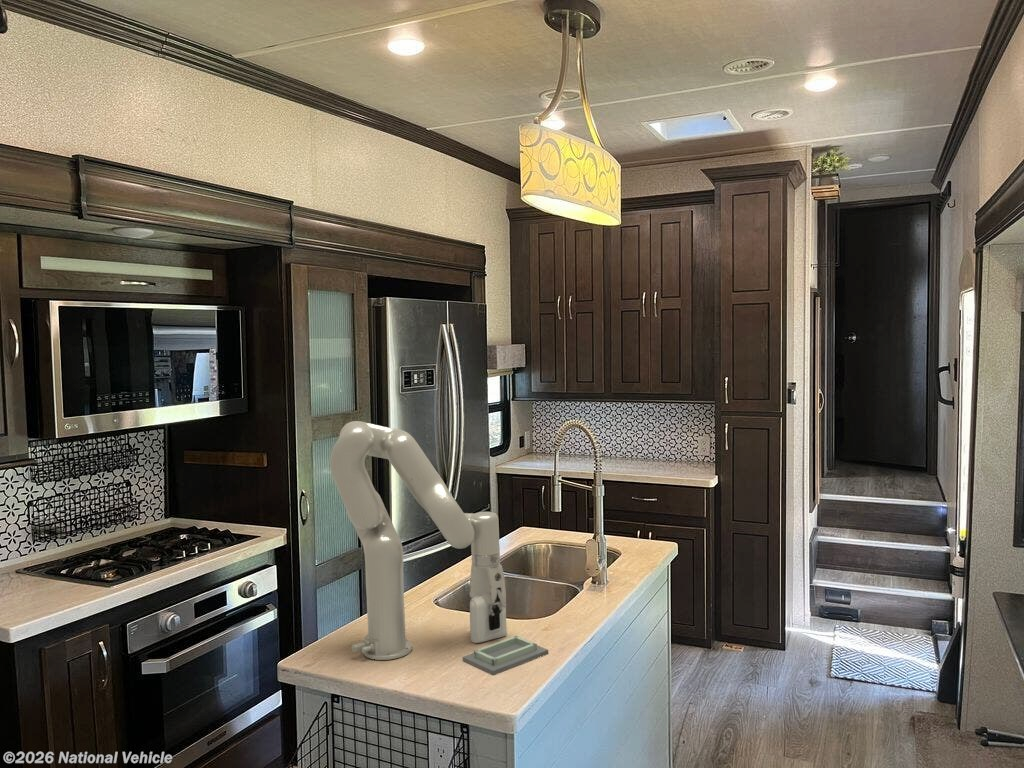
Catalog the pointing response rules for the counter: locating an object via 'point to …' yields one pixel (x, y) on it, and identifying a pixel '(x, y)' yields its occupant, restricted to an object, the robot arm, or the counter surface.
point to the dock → (505, 655)
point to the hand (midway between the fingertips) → (488, 625)
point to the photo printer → (484, 621)
